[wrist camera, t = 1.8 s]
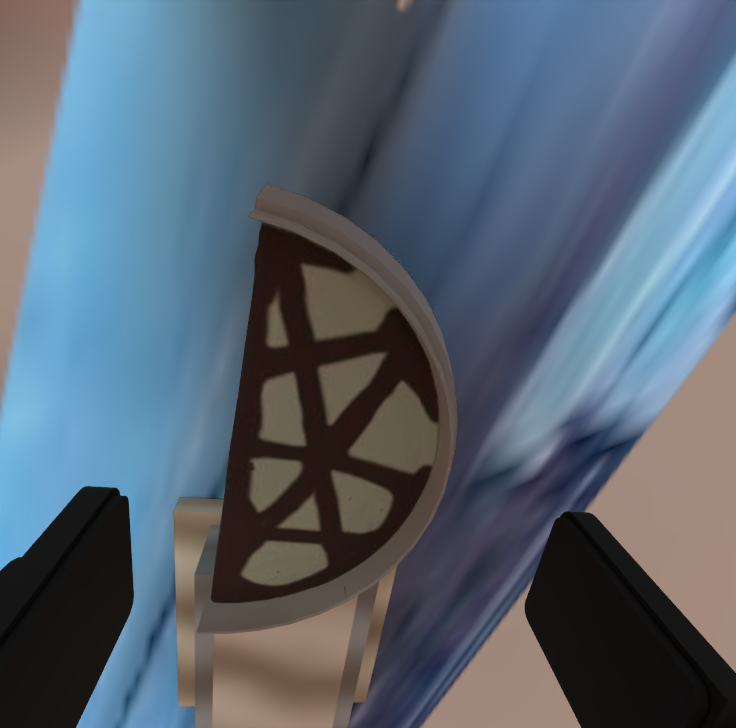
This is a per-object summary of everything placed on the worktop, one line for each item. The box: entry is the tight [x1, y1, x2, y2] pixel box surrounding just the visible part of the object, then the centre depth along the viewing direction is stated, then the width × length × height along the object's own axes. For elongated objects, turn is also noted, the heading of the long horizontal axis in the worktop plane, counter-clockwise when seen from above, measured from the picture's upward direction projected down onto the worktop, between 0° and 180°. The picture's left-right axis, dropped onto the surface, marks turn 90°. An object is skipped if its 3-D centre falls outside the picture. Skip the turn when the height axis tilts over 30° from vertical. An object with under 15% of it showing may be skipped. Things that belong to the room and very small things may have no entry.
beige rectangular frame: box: [174, 497, 397, 728], centre depth 23 cm, size 16×12×4 cm
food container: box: [197, 184, 458, 634], centre depth 15 cm, size 12×6×10 cm, turn 167°
